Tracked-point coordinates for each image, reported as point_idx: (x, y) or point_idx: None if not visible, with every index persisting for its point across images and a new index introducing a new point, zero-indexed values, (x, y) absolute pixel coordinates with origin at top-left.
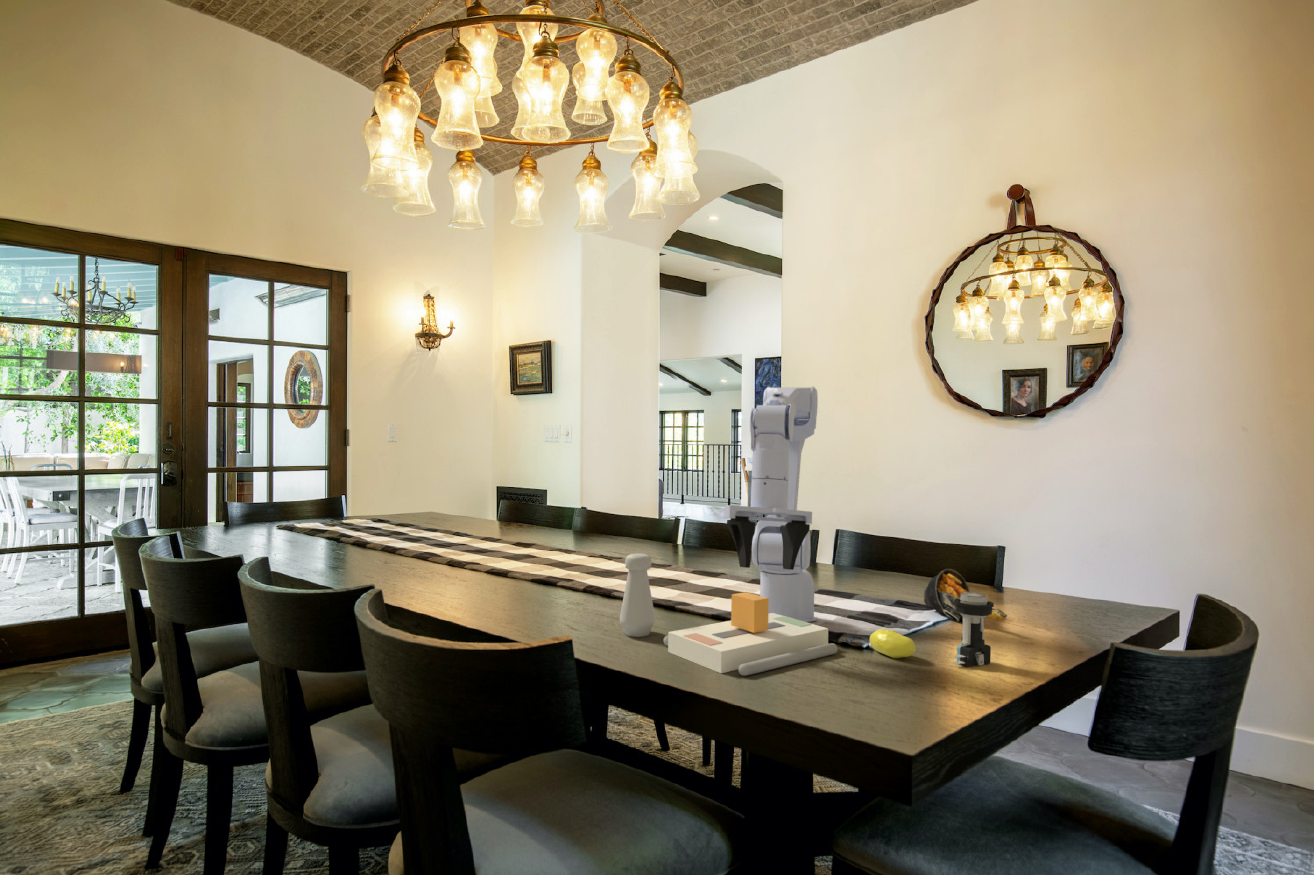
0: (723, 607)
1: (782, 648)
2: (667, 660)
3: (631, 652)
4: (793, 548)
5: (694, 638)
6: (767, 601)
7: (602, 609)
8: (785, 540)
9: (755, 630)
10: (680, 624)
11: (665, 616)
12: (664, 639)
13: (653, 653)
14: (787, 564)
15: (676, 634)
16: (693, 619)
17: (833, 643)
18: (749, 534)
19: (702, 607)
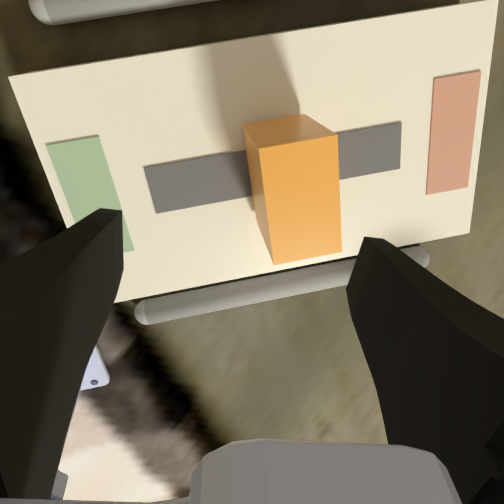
0: (117, 465)
1: (236, 39)
2: (483, 159)
3: (501, 239)
4: (76, 259)
5: (465, 150)
6: (263, 144)
7: None
8: (68, 387)
9: (299, 115)
10: (286, 379)
11: (279, 433)
12: (429, 259)
13: (471, 217)
14: (117, 247)
15: (470, 205)
16: (237, 404)
17: (37, 2)
18: (494, 331)
19: (165, 472)
